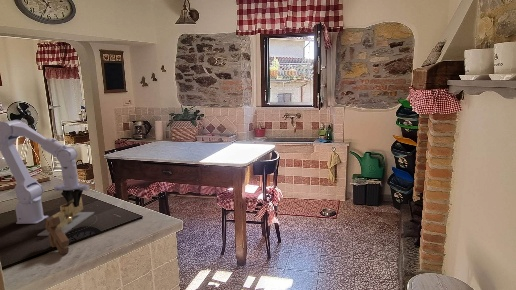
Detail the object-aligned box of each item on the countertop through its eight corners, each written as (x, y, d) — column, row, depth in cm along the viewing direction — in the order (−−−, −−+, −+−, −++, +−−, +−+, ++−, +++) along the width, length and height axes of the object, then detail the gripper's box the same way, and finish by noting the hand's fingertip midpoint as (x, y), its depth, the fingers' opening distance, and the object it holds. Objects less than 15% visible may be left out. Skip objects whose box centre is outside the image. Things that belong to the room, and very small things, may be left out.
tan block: (68, 220, 145) (66, 207, 144) (60, 221, 145) (58, 207, 144) (85, 209, 157) (83, 196, 156) (77, 209, 157) (75, 196, 156)
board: (62, 235, 136) (61, 234, 135) (37, 235, 136) (37, 234, 136) (94, 213, 159) (94, 212, 159) (73, 213, 160) (73, 212, 160)
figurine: (60, 263, 121) (45, 237, 129) (68, 261, 123) (52, 235, 131) (61, 234, 116) (45, 208, 124) (69, 232, 117) (52, 207, 126)
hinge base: (57, 232, 138) (54, 217, 137) (49, 232, 138) (47, 217, 137) (74, 221, 149) (72, 207, 148) (66, 221, 149) (64, 207, 148)
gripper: (47, 178, 146) (52, 209, 149) (81, 178, 145) (85, 209, 148) (58, 174, 153) (62, 204, 156) (90, 173, 152) (94, 203, 155)
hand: (74, 206), depth 152 cm, fingers closed on tan block, 2 cm apart
